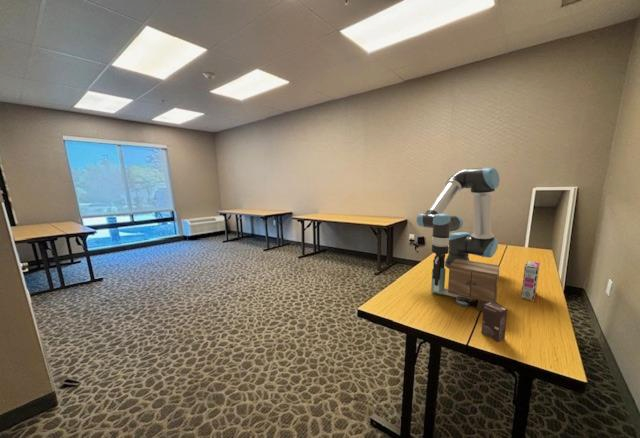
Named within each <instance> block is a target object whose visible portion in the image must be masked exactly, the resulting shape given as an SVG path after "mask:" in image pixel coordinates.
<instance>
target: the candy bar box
mask: <svg viewBox="0 0 640 438" xmlns="http://www.w3.org/2000/svg"><path fill="white" fill-rule="evenodd" d="M540 264H541V263H540V262H536V261H532V260H531V261H530V260H527V261H526V263H525V265H524V272H523V278H522V279H523V280H522V285H521V286H522V287H521V296H520V298H521V299H524V300H527V301H532V302H534V300H535V297H536V294H537V286H538V279H539V271H540V266H541V265H540Z"/></svg>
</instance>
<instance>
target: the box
mask: <svg viewBox="0 0 640 438" xmlns="http://www.w3.org/2000/svg"><path fill="white" fill-rule="evenodd" d="M508 311H509V310H508V308H506V307H505V306H502V305H500V304H497V303H496V304H495V303H492V302H488V303H486V304H484V309H483V312H482V321H481V322H482V323H481V324H482V325H481V334H482V335H484V336H487V337H488V338H490V339H492V340H493V341H495V342H497V343H499V342H501V341H504V340H505V339H506V337H505V336H506V327H507V317H508Z"/></svg>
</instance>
